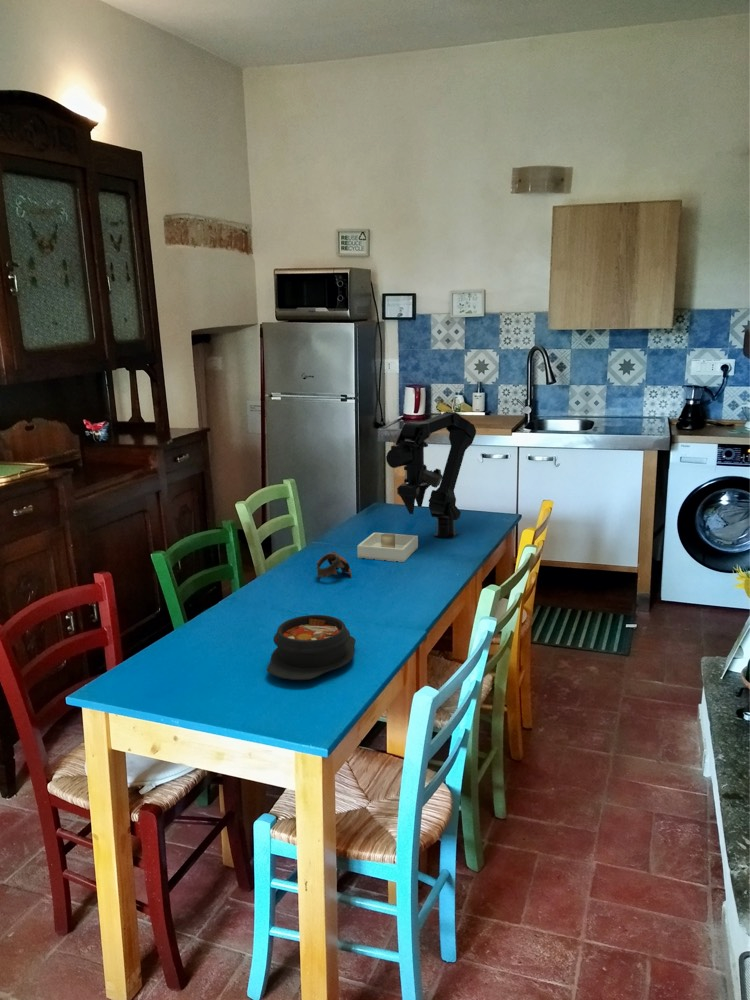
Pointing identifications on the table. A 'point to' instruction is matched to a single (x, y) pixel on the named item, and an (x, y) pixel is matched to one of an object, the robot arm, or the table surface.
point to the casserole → (310, 647)
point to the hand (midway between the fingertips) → (415, 510)
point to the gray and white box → (374, 550)
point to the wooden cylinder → (388, 540)
